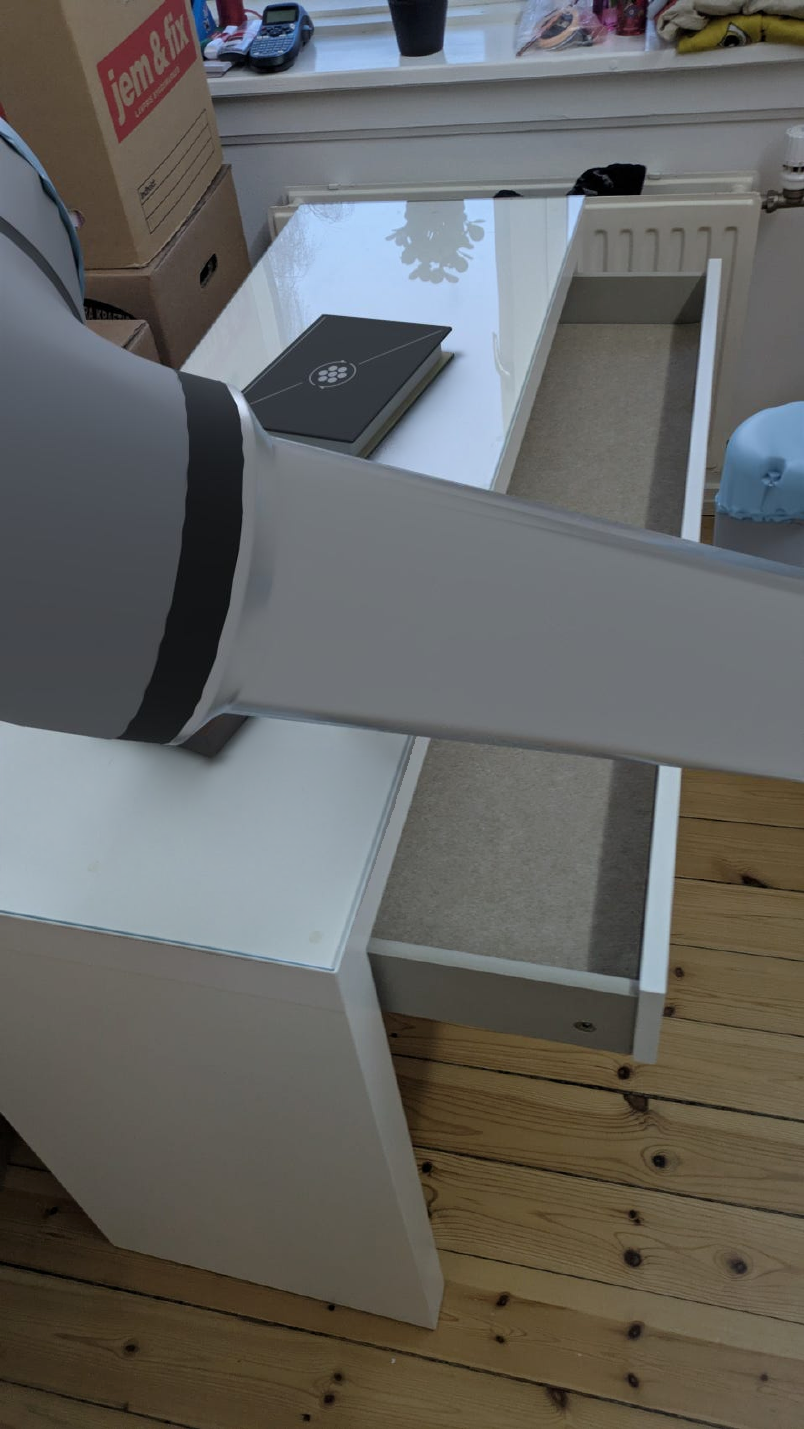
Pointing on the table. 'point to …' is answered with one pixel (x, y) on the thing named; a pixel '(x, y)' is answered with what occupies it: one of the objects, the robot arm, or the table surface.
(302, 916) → the table surface
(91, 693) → the robot arm
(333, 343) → the book
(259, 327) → the table surface
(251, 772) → the table surface
